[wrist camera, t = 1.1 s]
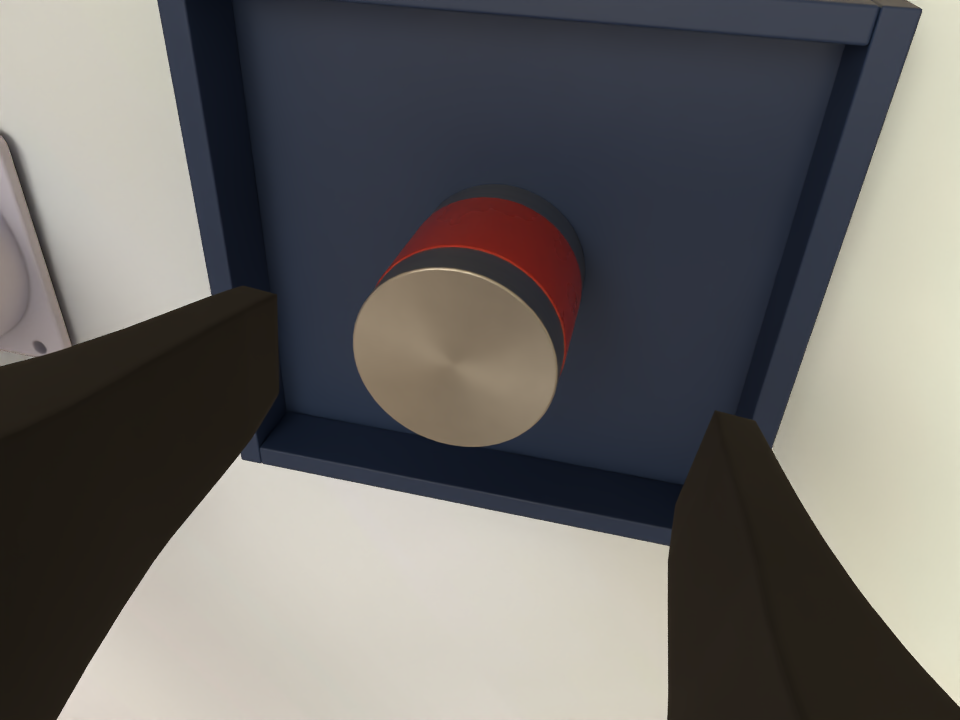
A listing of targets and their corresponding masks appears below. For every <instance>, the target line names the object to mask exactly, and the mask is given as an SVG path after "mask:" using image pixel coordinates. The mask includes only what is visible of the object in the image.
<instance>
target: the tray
mask: <svg viewBox="0 0 960 720" xmlns="http://www.w3.org/2000/svg"><path fill="white" fill-rule="evenodd" d="M157 1H158V7H159V12H160V18H161V23H162V28H163V34H164V39H165V45H166V50H167V56H168V61H169V66H170V72H171V77H172V83H173V88H174V93H175V99H176V104H177V110H178V115H179V121H180V126H181V131H182V137H183V142H184V148H185V153H186V159H187V164H188V169H189V175H190V180H191V186H192V191H193V197H194V202H195V207H196V213H197V218H198V224H199V229H200V235H201V240H202V245H203V251H204V256H205V262H206V267H207V273H208V278H209V283H210V289H211V294H212V295H215V294H218V293H221V292H224V291H227V290H230V289H233V288H236V287H240V286H243V285H244V286H247V287H251V288H255V289H259V290H262V291H266V292H270V293H274V294H277V310H278V352H279V394H278V396H277V397H276V399H275V401H274V403H273V404H272V406H271V408H270V410H269V411H268V413H267V415H266V416H265V418H264V420H263V421H262V423H261V425H260V426H259V428H258V429H257V431H256V433H255V434H254V436H253V437H252V439H251V440H250V442H249V443H248V444H247V445H246V447H245V448H244V449H243V451H242V452H241V457H242V459H243V460H247V461H252V462H257V463H263V464H267V465H272V466H277V467H282V468H287V469H292V470H297V471H302V472H307V473H311V474H316V475H321V476H326V477H331V478H336V479H341V480H346V481H351V482H356V483H361V484H366V485H371V486H376V487H381V488H386V489H391V490H395V491H400V492H405V493H410V494H415V495H420V496H425V497H430V498H435V499H440V500H445V501H450V502H455V503H460V504H465V505H470V506H475V507H479V508H484V509H489V510H494V511H499V512H504V513H509V514H514V515H519V516H524V517H529V518H534V519H539V520H544V521H549V522H554V523H559V524H563V525H568V526H573V527H578V528H583V529H588V530H593V531H598V532H603V533H608V534H613V535H618V536H623V537H628V538H633V539H638V540H642V541H647V542H652V543H657V544H662V545H667V546H670V541H671V533H672V525H673V518H674V511H675V504H676V501H677V499H678V497H679V494H680V492H681V490H682V487H683V485H684V482H685V480H686V478H687V475H688V473H689V471H690V468H691V466H692V463H693V461H694V459H695V456H696V454H697V451H698V449H699V447H700V444H701V442H702V440H703V437H704V435H705V432H706V430H707V428H708V425H709V423H710V421H711V418H712V416H713V413H714V411H715V410H716V411H720V412H724V413H728V414H732V415H735V416H739V417H743V418H747V419H750V420H754V421H756V423H757V425H758V426H759V428H760V430H761V432H762V433H763V435H764V437H765V439H766V441H767V442H768V444H769V446H770V448H771V449H772V446H773V444H774V441H775V438H776V435H777V432H778V429H779V426H780V423H781V420H782V417H783V415H784V412H785V409H786V406H787V403H788V400H789V397H790V394H791V391H792V388H793V385H794V383H795V380H796V377H797V374H798V371H799V368H800V365H801V362H802V359H803V356H804V353H805V351H806V348H807V345H808V342H809V339H810V336H811V333H812V330H813V327H814V324H815V322H816V319H817V316H818V313H819V310H820V307H821V304H822V301H823V298H824V295H825V292H826V290H827V287H828V284H829V281H830V278H831V275H832V272H833V269H834V266H835V263H836V260H837V258H838V255H839V252H840V249H841V246H842V243H843V240H844V237H845V234H846V231H847V228H848V226H849V223H850V220H851V217H852V214H853V211H854V208H855V205H856V202H857V199H858V197H859V194H860V191H861V188H862V185H863V182H864V179H865V176H866V173H867V170H868V167H869V165H870V162H871V159H872V156H873V153H874V150H875V147H876V144H877V141H878V138H879V135H880V133H881V130H882V127H883V124H884V121H885V118H886V115H887V112H888V109H889V106H890V104H891V101H892V98H893V95H894V92H895V89H896V86H897V83H898V80H899V77H900V74H901V72H902V69H903V66H904V63H905V60H906V57H907V54H908V51H909V48H910V45H911V42H912V40H913V37H914V34H915V31H916V28H917V25H918V22H919V19H920V16H921V13H922V9H921V8H919V7H917V6H916V5H914V4H912V3H910V2H908V1H907V0H157ZM489 184H498V185H508V186H514V187H518V188H521V189H524V190H527V191H529V192H532V193H534V194H536V195H538V196H540V197H541V198H543V199H544V200H546V201H548V202H549V203H550V204H552V205H553V206H554V207H555V208H556V209H558V210H559V211H560V213H561V214H562V215H563V216H564V217H565V218H566V219H567V220H568V222H569V223H570V225H571V226H572V227H573V229H574V231H575V233H576V235H577V237H578V239H579V242H580V244H581V247H582V251H583V255H584V262H585V277H584V283H583V288H582V292H581V300H580V305H579V309H578V313H577V317H576V321H575V325H574V329H573V333H572V337H571V341H570V344H569V348H568V352H567V356H566V360H565V364H564V367H563V370H562V373H561V375H560V377H559V380H558V384H557V388H556V391H555V394H554V397H553V400H552V402H551V404H550V406H549V407H548V409H547V411H546V412H545V414H544V415H543V416H542V417H541V419H540V420H539V421H538V422H537V423H536V424H535V425H533V426H532V427H531V428H530V429H529V430H527V431H526V432H524V433H522V434H521V435H519V436H517V437H515V438H513V439H511V440H508V441H505V442H502V443H499V444H494V445H489V446H480V447H463V446H455V445H449V444H445V443H441V442H437V441H434V440H431V439H428V438H426V437H423V436H421V435H419V434H417V433H415V432H413V431H411V430H410V429H408V428H406V427H404V426H403V425H402V424H400V423H399V422H397V421H396V420H395V419H393V418H392V417H391V416H390V415H389V414H388V413H387V412H385V411H384V410H383V409H382V408H381V406H380V405H379V404H378V403H377V402H376V401H375V400H374V398H373V397H372V396H371V394H370V393H369V391H368V390H367V388H366V386H365V385H364V383H363V381H362V379H361V376H360V374H359V372H358V369H357V366H356V362H355V358H354V351H353V332H354V326H355V322H356V319H357V316H358V313H359V311H360V309H361V307H362V305H363V303H364V302H365V301H366V299H367V298H368V297H369V295H370V294H371V293H372V291H373V290H374V289H375V287H376V285H377V283H378V281H379V279H380V278H381V277H382V275H383V274H384V273H385V271H386V270H387V269H388V268H389V266H390V265H391V264H392V262H393V261H394V260H395V259H396V257H397V256H398V255H399V253H400V252H401V251H402V249H403V248H404V247H405V246H406V244H407V243H408V242H409V240H410V239H411V238H412V237H413V235H414V234H415V233H416V231H417V230H418V229H419V228H420V226H421V225H422V224H423V223H424V222H425V221H426V220H427V219H428V218H429V217H430V216H431V215H432V213H433V212H434V211H435V209H436V208H437V207H438V206H439V205H440V204H441V203H442V202H444V201H445V200H446V199H448V198H449V197H451V196H452V195H454V194H456V193H458V192H460V191H462V190H465V189H468V188H471V187H475V186H480V185H489Z"/></svg>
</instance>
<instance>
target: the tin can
mask: <svg viewBox="0 0 960 720" xmlns="http://www.w3.org/2000/svg"><path fill="white" fill-rule="evenodd" d="M584 277H585V262H584V255H583V251H582V247H581V244H580V242H579V239H578V237H577V235H576V233H575V231H574V229H573V227H572V226H571V225H570V223H569V222H568V220H567V219H566V218H565V217H564V216H563V215H562V214H561V213H560V211H559V210H558V209H556V208H555V207H554V206H553V205H552V204H550V203H549V202H548V201H546V200H544V199H543V198H541V197H540V196H538V195H536V194H534V193H532V192H529V191H527V190H524V189H521V188H518V187H514V186H508V185H498V184H489V185H480V186H475V187H471V188H468V189H465V190H462V191H460V192H458V193H456V194H454V195H452V196H451V197H449V198H448V199H446V200H445V201H444V202H442V203H441V204H440V205H439V206H438V207H437V208H436V209H435V211H434V212H433V213H432V215H431V216H430V217H429V218H428V219H427V220H426V221H425V222H424V223H423V224H422V225H421V226H420V228H419V229H418V230H417V231H416V233H415V234H414V235H413V237H412V238H411V239H410V240H409V242H408V243H407V244H406V246H405V247H404V248H403V249H402V251H401V252H400V253H399V255H398V256H397V257H396V259H395V260H394V261H393V262H392V264H391V265H390V266H389V268H388V269H387V270H386V271H385V273H384V274H383V275H382V277H381V278H380V279H379V281H378V283H377V285H376V287H375V289H374V290H373V291H372V293H371V294H370V295H369V297H368V298H367V299H366V301H365V302H364V303H363V305H362V307H361V309H360V311H359V313H358V316H357V319H356V322H355V326H354V332H353V351H354V358H355V362H356V366H357V369H358V372H359V374H360V376H361V379H362V381H363V383H364V385H365V386H366V388H367V390H368V391H369V393H370V394H371V396H372V397H373V398H374V400H375V401H376V402H377V403H378V404H379V405H380V406H381V408H382V409H383V410H384V411H385V412H387V413H388V414H389V415H390V416H391V417H392V418H393V419H395V420H396V421H397V422H399V423H400V424H402V425H403V426H404V427H406V428H408V429H410V430H411V431H413V432H415V433H417V434H419V435H421V436H423V437H426V438H428V439H431V440H434V441H437V442H441V443H445V444H449V445H455V446H463V447H480V446H489V445H494V444H499V443H502V442H505V441H508V440H511V439H513V438H515V437H517V436H519V435H521V434H522V433H524V432H526V431H527V430H529V429H530V428H531V427H532V426H533V425H535V424H536V423H537V422H538V421H539V420H540V419H541V417H542V416H543V415H544V414H545V412H546V411H547V409H548V407H549V406H550V404H551V402H552V400H553V397H554V394H555V391H556V388H557V384H558V380H559V377H560V375H561V373H562V370H563V367H564V364H565V360H566V356H567V352H568V348H569V344H570V341H571V337H572V333H573V329H574V325H575V321H576V317H577V313H578V309H579V305H580V300H581V292H582V288H583V283H584Z"/></svg>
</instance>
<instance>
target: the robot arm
mask: <svg viewBox="0 0 960 720" xmlns="http://www.w3.org/2000/svg"><path fill="white" fill-rule="evenodd" d="M0 350H2V351H7V352H12V353H18V354H23V355H29V356H34V357H35V358H31V359H28V360H24V361H20V362H16V363H12V364H8V365H4V366H0V720H57V718H58V716H59V714H60V713H61V711H62V709H63V707H64V706H65V704H66V702H67V700H68V699H69V697H70V695H71V693H72V692H73V690H74V688H75V687H76V685H77V683H78V681H79V680H80V678H81V676H82V674H83V673H84V671H85V669H86V667H87V666H88V664H89V662H90V661H91V659H92V658H93V656H94V654H95V653H96V651H97V649H98V648H99V646H100V645H101V643H102V641H103V640H104V638H105V636H106V635H107V633H108V632H109V630H110V628H111V627H112V625H113V623H114V622H115V620H116V619H117V617H118V615H119V614H120V612H121V610H122V609H123V607H124V606H125V604H126V603H127V601H128V600H129V598H130V597H131V595H132V594H133V592H134V591H135V589H136V588H137V586H138V585H139V583H140V581H141V580H142V578H143V577H144V575H145V574H146V572H147V571H148V569H149V568H150V566H151V565H152V563H153V562H154V560H155V559H156V558H157V556H158V555H159V554H160V552H161V551H162V550H163V548H164V547H165V546H166V544H167V543H168V541H169V540H170V539H171V537H172V536H173V535H174V534H175V533H176V531H177V530H178V529H179V528H180V527H181V525H182V524H183V523H184V522H185V520H186V519H187V518H188V517H189V516H190V514H191V513H192V512H193V511H194V509H195V508H196V507H197V506H198V505H199V503H200V502H201V501H202V500H203V499H204V497H205V496H206V495H207V494H208V492H209V491H210V490H211V489H212V488H213V486H214V485H215V484H216V483H217V481H218V480H219V479H220V478H221V477H222V475H223V474H224V473H225V472H226V470H227V469H228V468H229V467H230V465H231V464H232V463H233V462H234V461H235V459H236V458H237V457H238V456H239V454H240V453H241V452H242V451H243V449H244V448H245V447H246V445H247V444H248V443H249V442H250V440H251V439H252V437H253V436H254V434H255V433H256V431H257V429H258V428H259V426H260V425H261V423H262V421H263V420H264V418H265V416H266V415H267V413H268V411H269V410H270V408H271V406H272V404H273V403H274V401H275V399H276V397H277V396H278V394H279V352H278V310H277V294H274V293H270V292H266V291H262V290H259V289H255V288H251V287H247V286H244V285H243V286H240V287H236V288H233V289H230V290H227V291H224V292H221V293H218V294H215V295H212V296H210V297H207V298H204V299H202V300H199V301H196V302H194V303H191V304H188V305H186V306H183V307H181V308H178V309H175V310H173V311H170V312H167V313H165V314H162V315H159V316H157V317H154V318H152V319H149V320H146V321H144V322H141V323H138V324H136V325H133V326H130V327H128V328H125V329H122V330H119V331H116V332H113V333H110V334H107V335H104V336H101V337H98V338H95V339H92V340H89V341H86V342H83V343H80V344H77V345H74V346H72V345H71V342H70V339H69V336H68V332H67V329H66V326H65V323H64V320H63V317H62V314H61V311H60V307H59V304H58V301H57V298H56V295H55V292H54V289H53V285H52V282H51V279H50V276H49V273H48V270H47V267H46V263H45V260H44V257H43V254H42V251H41V248H40V245H39V241H38V238H37V235H36V232H35V229H34V226H33V223H32V220H31V216H30V213H29V210H28V207H27V204H26V201H25V198H24V194H23V191H22V188H21V185H20V182H19V179H18V176H17V172H16V169H15V166H14V163H13V160H12V157H11V154H10V151H9V147H8V145H7V143H6V141H5V140H4V139H3V138H2V136H1V135H0ZM667 720H960V707H959V706H958V705H957V704H956V703H955V702H954V701H953V700H952V699H951V698H950V696H949V695H948V694H947V693H946V692H945V691H944V690H943V689H942V688H941V687H940V686H939V685H938V684H937V683H936V682H935V680H934V679H933V678H932V677H931V676H930V675H929V674H928V673H927V672H926V671H925V670H924V668H923V667H922V666H921V665H920V664H919V663H918V662H917V661H916V659H915V658H914V657H913V656H912V655H911V654H910V653H909V651H908V650H907V649H906V648H905V647H904V646H903V644H902V643H901V642H900V641H899V639H898V638H897V637H896V636H895V635H894V633H893V632H892V631H891V630H890V628H889V627H888V626H887V625H886V623H885V622H884V621H883V620H882V618H881V617H880V616H879V615H878V614H877V612H876V611H875V610H874V609H873V607H872V606H871V605H870V604H869V602H868V601H867V600H866V598H865V597H864V596H863V594H862V593H861V592H860V590H859V589H858V588H857V586H856V585H855V584H854V582H853V581H852V579H851V578H850V576H849V575H848V574H847V572H846V571H845V569H844V568H843V566H842V565H841V564H840V562H839V561H838V559H837V558H836V556H835V555H834V553H833V552H832V551H831V549H830V548H829V546H828V545H827V543H826V542H825V540H824V539H823V537H822V535H821V534H820V532H819V531H818V529H817V528H816V526H815V524H814V523H813V521H812V520H811V518H810V516H809V515H808V513H807V511H806V510H805V508H804V506H803V505H802V503H801V501H800V500H799V498H798V496H797V495H796V493H795V491H794V489H793V488H792V486H791V484H790V482H789V481H788V479H787V477H786V475H785V473H784V472H783V470H782V468H781V466H780V464H779V463H778V461H777V459H776V457H775V455H774V453H773V452H772V450H771V448H770V446H769V444H768V442H767V441H766V439H765V437H764V435H763V433H762V432H761V430H760V428H759V426H758V425H757V423H756V421H754V420H750V419H747V418H743V417H739V416H735V415H732V414H728V413H724V412H720V411H716V410H715V411H714V413H713V416H712V418H711V421H710V423H709V425H708V428H707V430H706V432H705V435H704V437H703V440H702V442H701V444H700V447H699V449H698V451H697V454H696V456H695V459H694V461H693V463H692V466H691V468H690V471H689V473H688V475H687V478H686V480H685V482H684V485H683V487H682V490H681V492H680V494H679V497H678V499H677V501H676V504H675V511H674V518H673V525H672V533H671V541H670V549H669V557H668V716H667Z"/></svg>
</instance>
